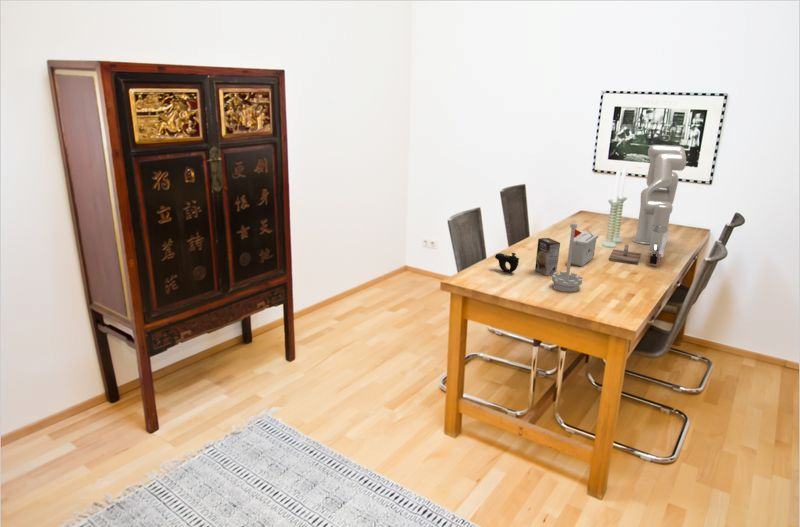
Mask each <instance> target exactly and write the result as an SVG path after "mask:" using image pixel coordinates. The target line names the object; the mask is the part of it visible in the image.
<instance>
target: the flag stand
mask: <svg viewBox="0 0 800 527" xmlns="http://www.w3.org/2000/svg"><path fill="white" fill-rule="evenodd" d="M569 227H570V239H569V247H568V254H567V260H566V261H567V262H566V270H565V271H559V273H558V272H555V273H553V275H551V281H552V283H553V286H554V287H555V288H556V290H557V289H558V291H560V290H562V291H561V292H565V291H569V292H570V293H572V291H575V292H577V290H578V291H579V289H580V285H582V284H583V277H584V276H582V275H577V273H575V272H570V271H571V266H572V265H571V258H572V250H573V242H574V238H576V237H578V236H579V235H581V234H582V233H583V232H581V231H580V230H578V229H577V228H578V223H576V222H571V223H570V225H569ZM553 286H552V287H553ZM554 287H553V288H554ZM555 288H554V289H555Z"/></svg>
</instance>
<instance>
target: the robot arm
mask: <svg viewBox="0 0 800 527" xmlns="http://www.w3.org/2000/svg"><path fill="white" fill-rule="evenodd" d="M686 154H687V153H686V151H685V148H684V147H683V146H681V145H669V144H651V145H650V146H649V148H648V149H647V155H648V156H647V157H648V159H649V167H648V171H647V176H646V185H647V186H648V187H647V188H644V189H642V190H641V192H640V207H639V213H638V219H637V220H638V221H637V226H636V234H635V236H634V237H633V238H632V242H634V243H636V244H641V245H649V249H648V251H649V252H650V251H651V253H652V254H651V257H650V262H649V263H651V264H656V263H657V257H658V256H657V254H659V251H660V249H661V245H662V241H663V236H664V233H667V229H668V230H669V228H668V227H669V222H670V216H671V214H672V212H673V209H674V207H673V204H674V201H675V196H676V192H677V188H678V185H679V184H678V183H679V175H678V173H677V172H676V171H679V172H680V171H683V170H685V168H686V165H687V155H686Z"/></svg>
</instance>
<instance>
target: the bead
mask: <svg viewBox="0 0 800 527" xmlns="http://www.w3.org/2000/svg"><path fill="white" fill-rule="evenodd" d="M651 254H652V252H648V254H647V256H646V257H647V258H646V264H645V265H647V266H651V265H653V266H652V267H658V266H659V267H660V265H661V254H657V256H658V257H657V263H656V264H651V263H649V262H650V257H651Z"/></svg>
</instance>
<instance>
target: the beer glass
mask: <svg viewBox="0 0 800 527" xmlns="http://www.w3.org/2000/svg"><path fill="white" fill-rule="evenodd" d="M669 231H670V229H669V228H668V229H667V233H664V236H663V241H662V245H661V249H660V251H659V254H661V257H662V258H664V254H665V252H664V250H665V248H666V245H667V242H668V237H669V233H670V232H669Z"/></svg>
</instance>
